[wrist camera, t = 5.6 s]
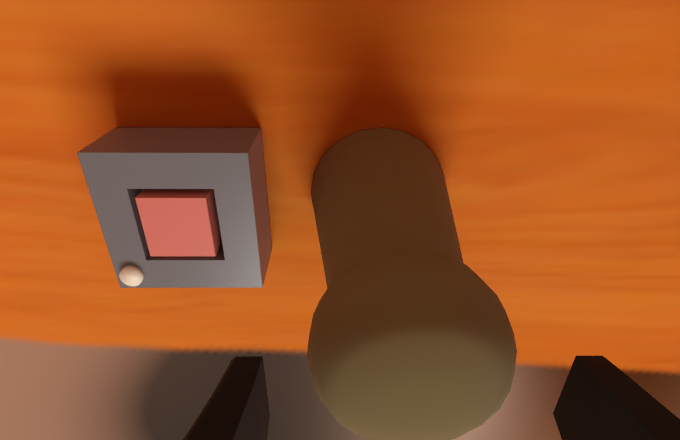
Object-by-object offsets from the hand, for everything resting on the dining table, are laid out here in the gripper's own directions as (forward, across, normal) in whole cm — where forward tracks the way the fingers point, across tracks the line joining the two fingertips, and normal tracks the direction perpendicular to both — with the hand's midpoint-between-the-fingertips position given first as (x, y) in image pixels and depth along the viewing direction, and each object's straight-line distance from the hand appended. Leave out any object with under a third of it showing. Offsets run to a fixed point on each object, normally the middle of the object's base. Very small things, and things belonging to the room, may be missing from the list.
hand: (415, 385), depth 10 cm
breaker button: (+9, +8, 0) cm, 12 cm away
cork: (+11, 0, 0) cm, 11 cm away
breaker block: (+10, +8, 0) cm, 13 cm away
